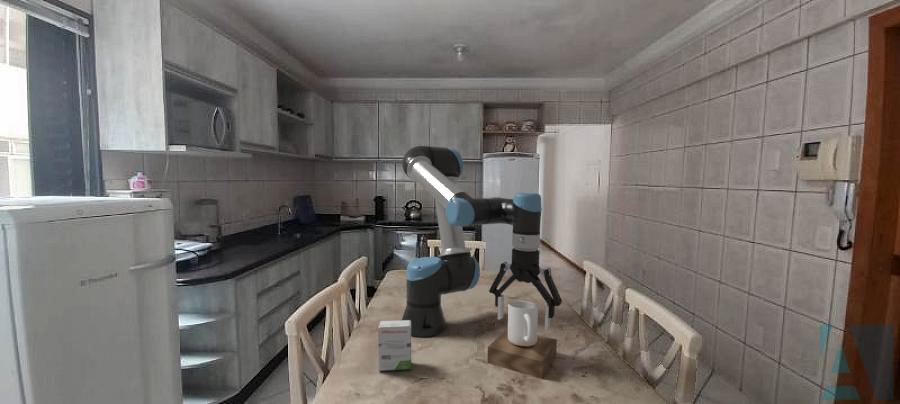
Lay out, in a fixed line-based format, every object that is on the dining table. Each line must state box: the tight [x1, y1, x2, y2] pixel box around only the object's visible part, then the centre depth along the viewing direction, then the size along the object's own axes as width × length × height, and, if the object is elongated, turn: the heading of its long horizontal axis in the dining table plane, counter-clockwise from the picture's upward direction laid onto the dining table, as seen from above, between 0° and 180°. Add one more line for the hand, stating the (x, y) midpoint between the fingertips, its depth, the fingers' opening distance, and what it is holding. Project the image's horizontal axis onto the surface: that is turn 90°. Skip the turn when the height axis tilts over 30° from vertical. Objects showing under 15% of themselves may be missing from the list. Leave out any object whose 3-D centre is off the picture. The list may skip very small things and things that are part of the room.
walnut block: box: [486, 327, 558, 380], centre depth 99 cm, size 15×15×5 cm
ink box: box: [377, 319, 412, 372], centre depth 94 cm, size 9×5×12 cm, turn 96°
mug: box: [507, 300, 539, 346], centre depth 98 cm, size 12×8×10 cm
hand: (523, 323), depth 99 cm, fingers open, 13 cm apart
